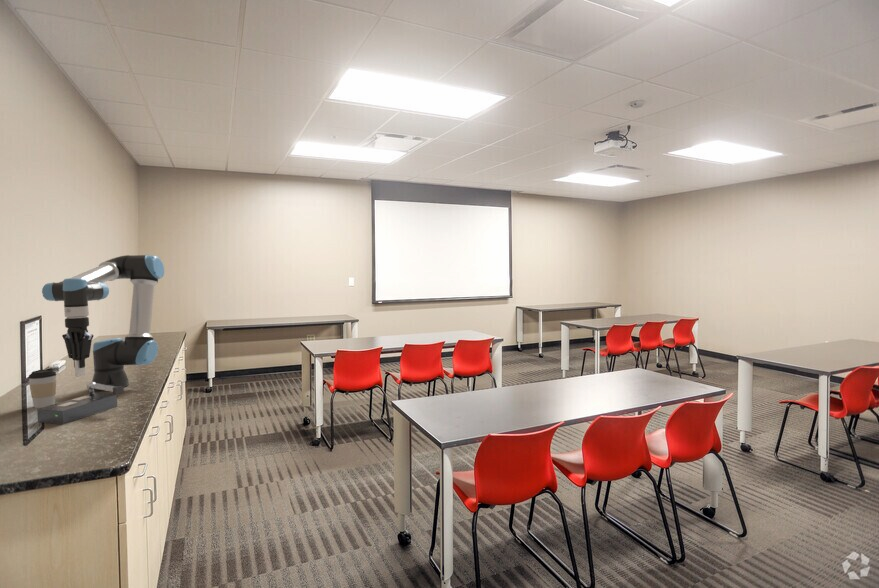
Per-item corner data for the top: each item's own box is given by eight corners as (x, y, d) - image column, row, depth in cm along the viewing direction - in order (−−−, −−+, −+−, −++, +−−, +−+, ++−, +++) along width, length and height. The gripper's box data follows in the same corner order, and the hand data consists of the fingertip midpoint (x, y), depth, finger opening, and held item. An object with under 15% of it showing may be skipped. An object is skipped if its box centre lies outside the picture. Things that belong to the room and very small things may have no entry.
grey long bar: (85, 388, 190) (84, 382, 190) (93, 386, 193) (92, 381, 193) (116, 393, 181) (115, 388, 181) (124, 391, 184) (123, 386, 184)
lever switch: (94, 404, 194) (93, 386, 193) (117, 406, 191) (116, 387, 191) (36, 422, 172) (35, 401, 171) (62, 424, 169) (60, 403, 169)
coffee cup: (41, 409, 188) (39, 373, 187) (24, 408, 190) (21, 372, 189) (63, 402, 197) (61, 368, 196) (46, 401, 199) (44, 367, 198)
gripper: (54, 317, 181) (57, 377, 182) (80, 318, 178) (84, 378, 179) (73, 315, 188) (76, 372, 189) (98, 316, 185) (102, 374, 186)
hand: (80, 375), depth 184 cm, fingers closed
